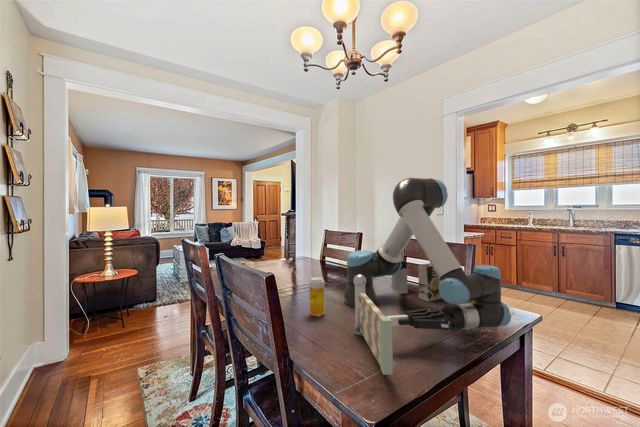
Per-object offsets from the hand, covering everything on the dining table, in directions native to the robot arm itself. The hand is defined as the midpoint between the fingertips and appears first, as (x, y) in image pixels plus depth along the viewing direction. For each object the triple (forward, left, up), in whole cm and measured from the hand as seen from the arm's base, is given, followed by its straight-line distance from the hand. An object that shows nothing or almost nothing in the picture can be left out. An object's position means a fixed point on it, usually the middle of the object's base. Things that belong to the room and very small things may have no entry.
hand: (387, 321), depth 88 cm
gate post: (-12, +5, -9) cm, 16 cm away
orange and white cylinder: (-35, +9, -9) cm, 38 cm away
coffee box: (-5, +57, -9) cm, 58 cm away
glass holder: (-24, +61, -9) cm, 66 cm away
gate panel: (-2, -6, -7) cm, 9 cm away
